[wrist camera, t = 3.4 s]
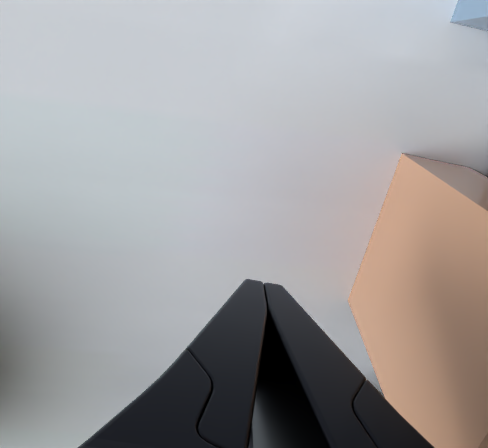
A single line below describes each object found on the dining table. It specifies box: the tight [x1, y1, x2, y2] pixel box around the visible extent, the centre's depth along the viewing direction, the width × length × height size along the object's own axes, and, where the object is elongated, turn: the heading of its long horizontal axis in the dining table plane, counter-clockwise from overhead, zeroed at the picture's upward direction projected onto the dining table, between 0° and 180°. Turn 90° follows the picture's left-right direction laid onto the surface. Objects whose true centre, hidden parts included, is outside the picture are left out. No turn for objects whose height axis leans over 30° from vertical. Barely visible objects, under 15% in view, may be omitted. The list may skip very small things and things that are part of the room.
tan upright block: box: [348, 153, 488, 448], centre depth 11 cm, size 6×3×8 cm, turn 168°
